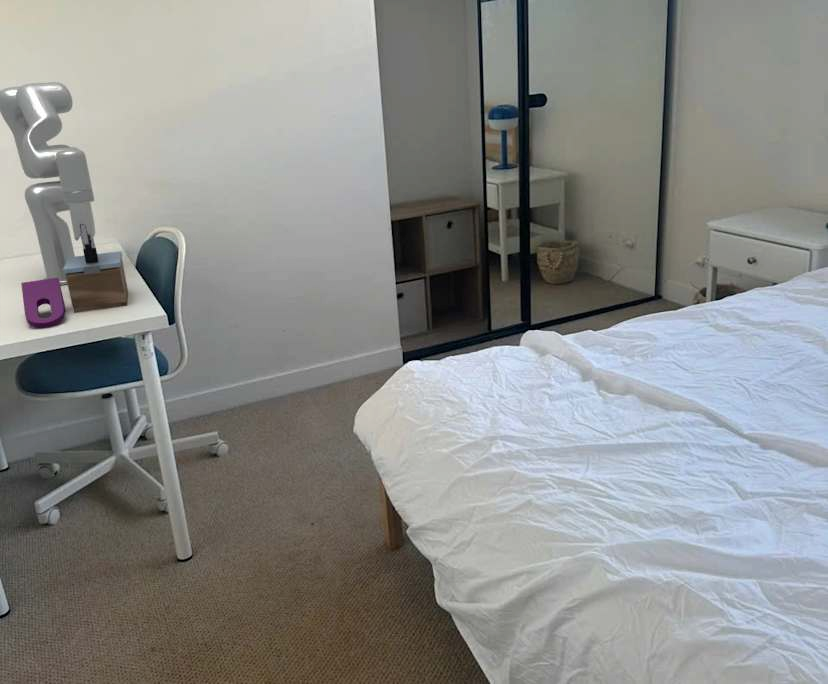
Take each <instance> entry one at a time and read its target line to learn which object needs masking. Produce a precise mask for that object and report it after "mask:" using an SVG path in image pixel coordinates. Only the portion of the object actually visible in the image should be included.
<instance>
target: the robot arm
mask: <svg viewBox="0 0 828 684" xmlns="http://www.w3.org/2000/svg"><path fill="white" fill-rule="evenodd" d="M72 108H73V96H72V94H71V92H70V90H69V89H68V87H67V86H66V85H65V84H64V83H62V82H58V81H55V82H54V81H52V82H34V83H27V84H23V85H21V86H11V87H6V88H3V89H0V114H1V116H2V118H3V120H4V122H5V124H6V125H7V126H8V128H9V130H10V131H11V133H12V135H13V139H14V143H15V145H16V150H17V154H18V157H19V161H20V164H21V165H20V166H21V168H22V170H23V172H24V175H25V176H26V177H27V178H30V179H52V178H59V180H55V181H45V182H44V181H43V182H37V183H35V184H31V185H29V186H28V187H26V188H25V190H24V199H25V202H26V205H27V207H28V210H29V213H30V214H31V218H32V221H33V225H34V228H35V233H36V236H37V240H38V244H39V245H38V246H39V248H40V253H41V258H42V262H43V266H44V271H45V276H46V277H44V278H42V280H44V279H51V278H59V282H60V286H64V285H68V284H67V280H66V274H64V273H63V268H64V266H65V264H66V262H67V260H68V258H69V257H76V255H75V251H74V247H73V241H72V237H71V231H70V228H69V225H68V223H67V222H66V221H65V220H64V219H63V218H62V217H60V216H59V215H58V213H62V212H68V211H69V215H70V218H71V219H70V221H71V227H72V230H73V236H74V241H79V239H81V244H82V251H83V256H85V261H86V263H95V262H98V256H97V254H98V251H97V247H96V245H95V239H94V237H95V236H96V226H95V220H94V214H93V210H92V203H93V202H95V196H94V192H93V186H92V182H91V181H92V180H91V177H90V172H89V171H90V170H89V167H88V161H87V158H86V157H87V156H86V154H85V152H84V151H83V150H82V149H79V148H78V147H75V146H71V147H70V146H69V145H67V144H53V145H48V143H47V142H48V141H50V140H52V139H53V138H55V137H57V136H58V135H59V134H60V133H61V132H62V128H63V121H62V120H61V118H60V116H59V114H66V113H68V112H70V111H71V110H72Z"/></svg>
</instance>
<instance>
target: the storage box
mask: <svg viewBox="0 0 828 684" xmlns="http://www.w3.org/2000/svg"><path fill="white" fill-rule="evenodd" d="M66 280H67V284H66V285H67V288H68V292H69V297H70V301H71V306H72V311H73V313H74V314H75V313H82V312H83V313H84V312H90V311H98V310H105V309H112V308H121V307H127V306H128V297H129V288H128V283H127V278H126V273H125V268H124V262H123V259H122V260H121V265H120V267H115V268H107V269H100V273H95V274H86V275H85V273H84V271H82V272H74V273H66Z"/></svg>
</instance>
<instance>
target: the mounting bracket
mask: <svg viewBox="0 0 828 684" xmlns="http://www.w3.org/2000/svg"><path fill="white" fill-rule="evenodd" d="M43 279H44V278H43ZM43 279H40V280H31V281H25V282H21V284H20V285H21V293H22V299H23V300H22V301H23V302H22V303H23V308H24V309H23V310H24V316H25V319H26V322H27V324H28V325H29V326H30V327H32V328H35V329H47V328H48V329H49V328H52V327H56V326H58V325H60V324H61V323H62V322H63V321H64V320H65V317H66V306H65V301H64V300H65V299H64V297H63V296H64V294H63V292H62V288H61V285H60V282H59V278H51V279H44V280H43ZM42 305H49V306H50V313H51V315H50V316H48V317H46V318H41V317H40V312H39V311H40V310H39V307H41V306H42Z"/></svg>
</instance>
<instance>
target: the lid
mask: <svg viewBox="0 0 828 684" xmlns="http://www.w3.org/2000/svg"><path fill="white" fill-rule="evenodd" d="M97 256H98V262H95V263H86V261H85V256H84V255H77V256H76V255H75V257H69V258H68V260H67V262H66V264H65V266H64V268H63V273H64V274H66V273H74V272H82V271H84V273H85V275H86V274H95V273H100V269H107V268H115V267H120V265H121V260H122V261H123V251H122V250H119V251H112V252H103V253H97Z"/></svg>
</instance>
